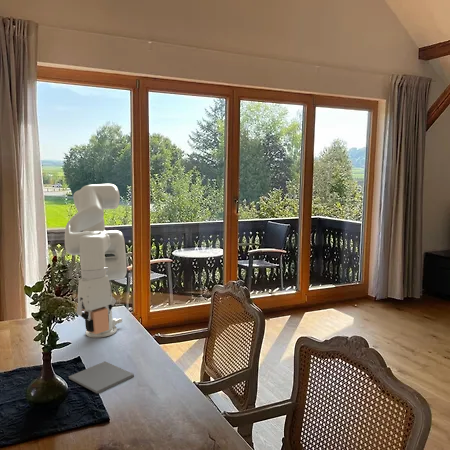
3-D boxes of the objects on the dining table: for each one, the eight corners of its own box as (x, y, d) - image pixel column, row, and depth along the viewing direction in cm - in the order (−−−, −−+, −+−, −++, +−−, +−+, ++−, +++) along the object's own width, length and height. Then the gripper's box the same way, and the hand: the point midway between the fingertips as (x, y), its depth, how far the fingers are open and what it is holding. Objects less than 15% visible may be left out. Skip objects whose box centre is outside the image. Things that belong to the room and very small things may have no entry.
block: (100, 326, 149) (98, 305, 148) (109, 329, 146) (107, 308, 145) (86, 330, 145) (85, 309, 144) (95, 334, 142) (94, 312, 141)
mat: (105, 363, 158) (105, 361, 158) (133, 376, 148) (133, 373, 148) (68, 378, 148) (68, 376, 148) (97, 393, 137) (97, 391, 137)
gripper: (109, 266, 152) (112, 318, 154) (62, 277, 139) (67, 334, 141) (123, 269, 147) (126, 323, 149) (76, 281, 134) (80, 339, 137)
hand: (97, 327), depth 145 cm, fingers closed on block, 5 cm apart
